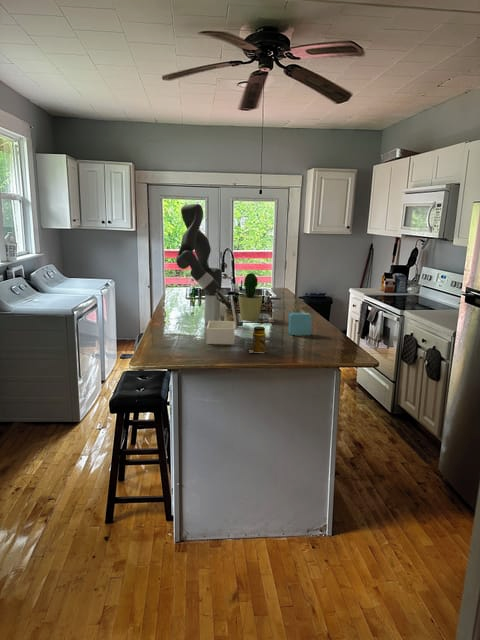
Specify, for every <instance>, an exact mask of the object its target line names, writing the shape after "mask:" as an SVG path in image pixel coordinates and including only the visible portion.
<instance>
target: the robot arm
mask: <svg viewBox="0 0 480 640" xmlns="http://www.w3.org/2000/svg"><path fill="white" fill-rule="evenodd" d="M180 214H181V217H182V220H183V221H182V222H184V225H185V227H186V230H185V231H184V233H183V235H182V237H181V242H180V248H179V251H178V253H177V255H176V265H177V267H178V268H180V269H182V270H184V269H185V270H186V269H187V268H189V267H190V272H189V273H190V274H189V275H190V276H191V277H192V278H193V279H194V281H196V283H197V284H198V285H199V287H201V289H203V291H204V323H206V324H208V322H209V321H221V303H222V305H225V306H226V308H227V309H229V310H232V306H231V302H230V301H228V298H227V297H226V295H225V294H224V293H223V291H222V282H223V273H222V270H221V268H219V267H218V268H217V267H210V266H209V263H208V260H209V257H210V254H211V250H212V248H211V245H210V242H209V241H210V240H209V239H208V237H207V236H206V235H205V234H204V233H203V232H202V231H201V230H200V227H201V225H202V221H203V219H204V210H203V206H202V205H201V204H199V203H193V204H192V203H191V204H186V205H183V206H181V208H180ZM194 252H195V253H194Z"/></svg>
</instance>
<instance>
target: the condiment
mask: <svg viewBox="0 0 480 640" xmlns="http://www.w3.org/2000/svg"><path fill="white" fill-rule="evenodd" d="M265 330H266V328H265V326H254V327H253V333H252V346H251V347H252V348H251V349H252V350H253V351H254V352H264V351H265V352H266V331H265Z"/></svg>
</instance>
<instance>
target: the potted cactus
mask: <svg viewBox="0 0 480 640" xmlns="http://www.w3.org/2000/svg"><path fill="white" fill-rule="evenodd" d="M257 277H258V276H256V274H255V273H251V272H248V274H246V276H244V280H243V288H244V290H245V291H244V293H245V294H240V295H238V304H239V312H240V319H241V320H242V321H246V322H257V321H259V320H260V314H261V308H262V302H263V297H264V295H263V296H262V295H260V294H259V295H258V294H256V289H257V287H258V279H259V278H257Z"/></svg>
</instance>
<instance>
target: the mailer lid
mask: <svg viewBox="0 0 480 640" xmlns="http://www.w3.org/2000/svg"><path fill="white" fill-rule="evenodd" d="M230 304H231V306H232V308H231V312H232V315H233V316H232V318H233V321H234V324H235V329H236V330H237V317H236V310H235V304H234V298H233V294H231V295H230Z"/></svg>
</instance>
